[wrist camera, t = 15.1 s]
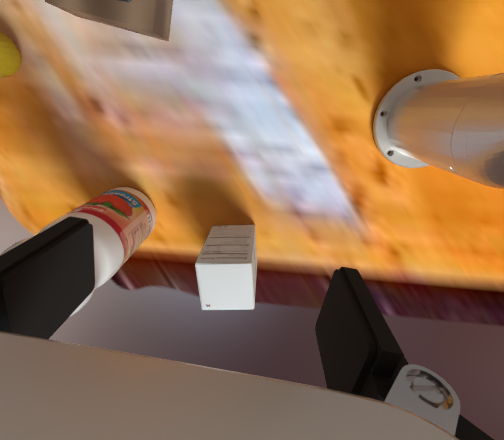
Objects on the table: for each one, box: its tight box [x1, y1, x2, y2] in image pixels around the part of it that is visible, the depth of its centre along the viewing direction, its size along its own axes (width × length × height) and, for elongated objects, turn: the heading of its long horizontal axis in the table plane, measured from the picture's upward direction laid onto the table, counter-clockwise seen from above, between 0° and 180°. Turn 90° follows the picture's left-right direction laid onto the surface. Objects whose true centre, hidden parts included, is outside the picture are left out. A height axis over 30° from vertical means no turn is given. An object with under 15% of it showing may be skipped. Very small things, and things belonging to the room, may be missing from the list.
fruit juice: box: [1, 187, 156, 317], centre depth 34 cm, size 9×9×28 cm
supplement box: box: [195, 225, 257, 310], centre depth 42 cm, size 7×7×13 cm
